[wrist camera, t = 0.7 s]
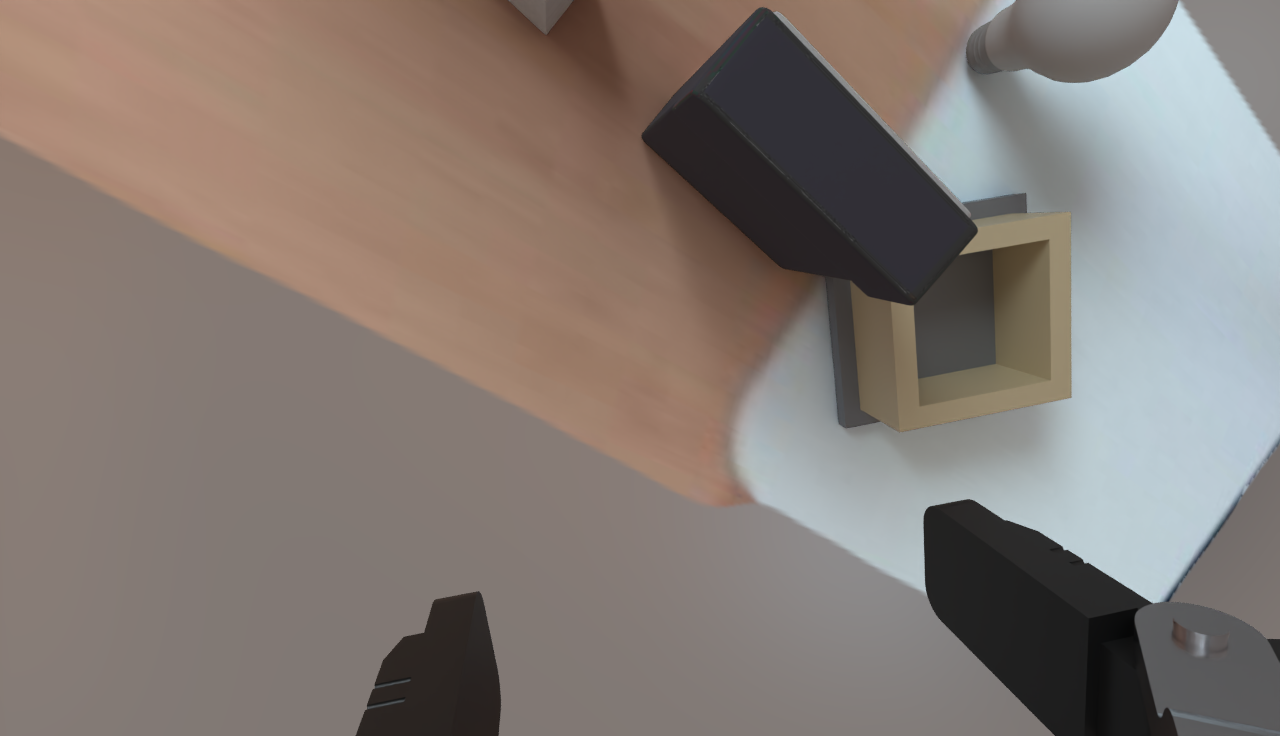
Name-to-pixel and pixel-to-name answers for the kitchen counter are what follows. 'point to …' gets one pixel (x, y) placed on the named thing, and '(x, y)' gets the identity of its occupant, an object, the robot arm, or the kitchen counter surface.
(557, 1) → the grey block
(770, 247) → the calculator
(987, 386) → the bulb holder
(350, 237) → the kitchen counter surface
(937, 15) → the kitchen counter surface
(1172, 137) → the kitchen counter surface
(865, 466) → the kitchen counter surface
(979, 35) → the lightbulb
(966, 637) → the robot arm
